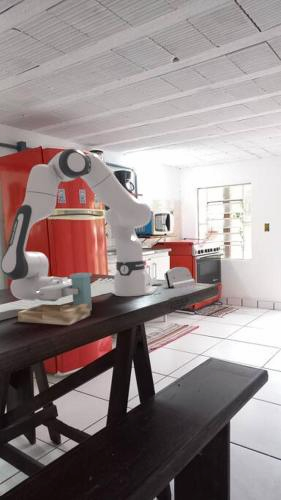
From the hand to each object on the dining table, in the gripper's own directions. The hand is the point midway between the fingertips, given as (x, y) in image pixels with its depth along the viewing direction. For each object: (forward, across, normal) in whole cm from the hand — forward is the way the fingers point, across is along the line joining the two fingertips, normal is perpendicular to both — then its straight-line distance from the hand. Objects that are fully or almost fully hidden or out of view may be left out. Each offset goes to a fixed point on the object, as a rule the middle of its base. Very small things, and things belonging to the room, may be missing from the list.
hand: (83, 289), depth 119 cm
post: (-1, 0, +8) cm, 8 cm away
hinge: (+16, +59, +8) cm, 62 cm away
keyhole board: (-4, -11, +8) cm, 14 cm away
